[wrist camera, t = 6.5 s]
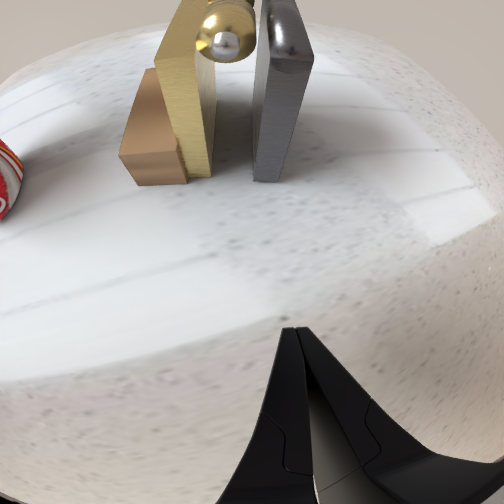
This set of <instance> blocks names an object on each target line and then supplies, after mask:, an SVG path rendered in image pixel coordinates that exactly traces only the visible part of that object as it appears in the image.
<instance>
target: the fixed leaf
mask: <svg viewBox="0 0 504 504" xmlns="http://www.w3.org/2000/svg"><path fill="white" fill-rule="evenodd" d="M254 2H255V1H254V0H182V1H181V3H180V6H179V7H178V9H177V11H176V13H175V15H174V17H173V19H172V21H171V23H170V25H169V27H168V29H167V31H166V33H165V35H164V38H163V40H162V42H161V44H160V47H159V49H158V51H157V54H156V56H155V59H154V64H155V67H156V71H157V75H158V79H159V82H160V86H161V90H162V93H163V97H164V100H165V104H166V108H167V111H168V115H169V118H170V121H171V125H172V128H173V132H174V135H175V138H176V142H177V145H178V148H179V152H180V155H181V158H182V161H183V165H184V168H185V171H186V174H187V177H211V170H212V155H213V142H214V129H215V118H216V107H217V99H216V82H215V65H214V62H219V63H233V62H237V61H240V60H243V59H245V58H246V57H248V56H249V55H250V54H251V53H252V52H253V51H254V49H255V46H256V20H255V11H254V9H253V6H254Z"/></svg>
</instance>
